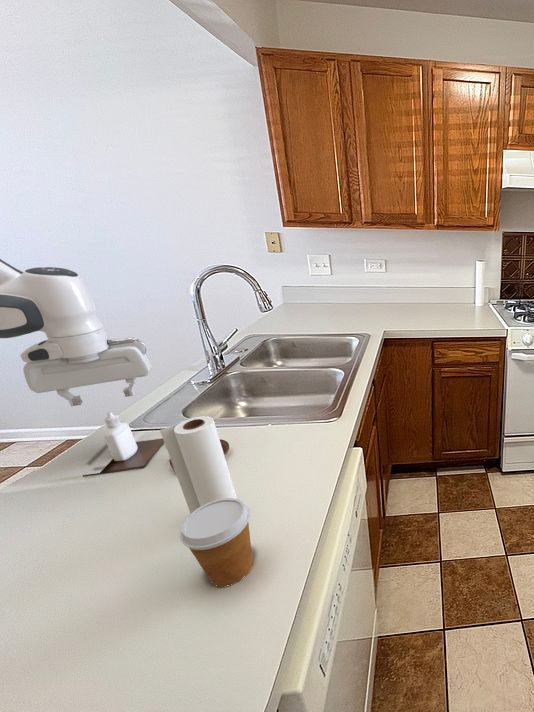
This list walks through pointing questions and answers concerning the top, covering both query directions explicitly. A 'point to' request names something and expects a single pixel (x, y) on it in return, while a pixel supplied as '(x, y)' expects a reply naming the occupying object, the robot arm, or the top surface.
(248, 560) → the disposable coffee cup
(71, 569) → the top surface
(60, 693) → the top surface
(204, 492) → the paper towel roll
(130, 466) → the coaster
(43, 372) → the robot arm
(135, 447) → the eye dropper bottle
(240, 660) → the top surface
